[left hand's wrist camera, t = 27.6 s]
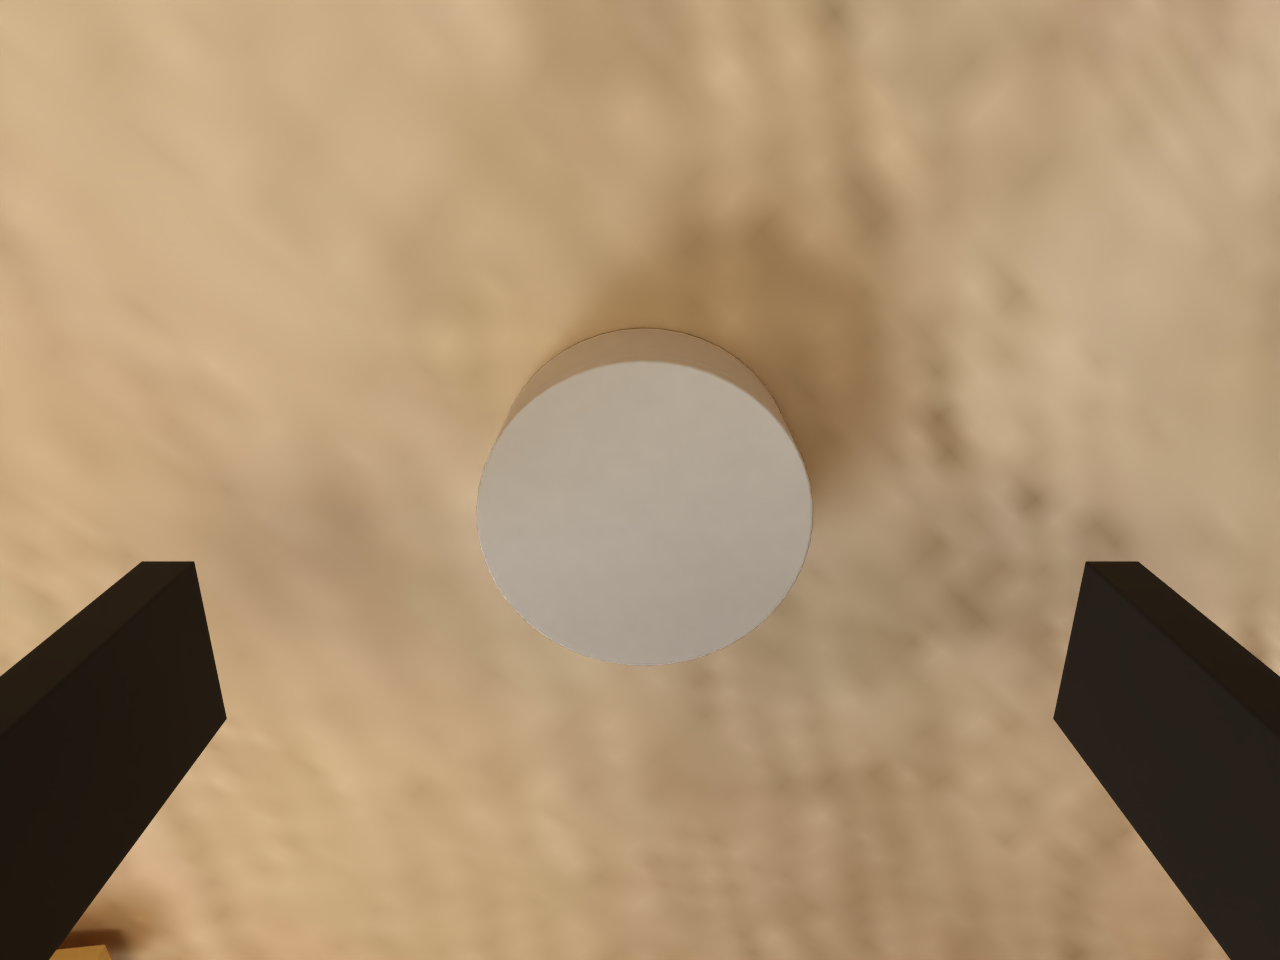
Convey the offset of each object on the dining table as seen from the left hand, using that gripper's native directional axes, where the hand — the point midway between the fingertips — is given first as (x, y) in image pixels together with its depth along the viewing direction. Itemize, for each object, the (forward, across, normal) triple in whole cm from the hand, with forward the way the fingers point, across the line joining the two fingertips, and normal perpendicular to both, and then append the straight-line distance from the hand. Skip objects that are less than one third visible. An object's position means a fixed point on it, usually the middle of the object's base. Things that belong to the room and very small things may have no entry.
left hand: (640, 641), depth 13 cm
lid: (+2, 0, +1) cm, 3 cm away
